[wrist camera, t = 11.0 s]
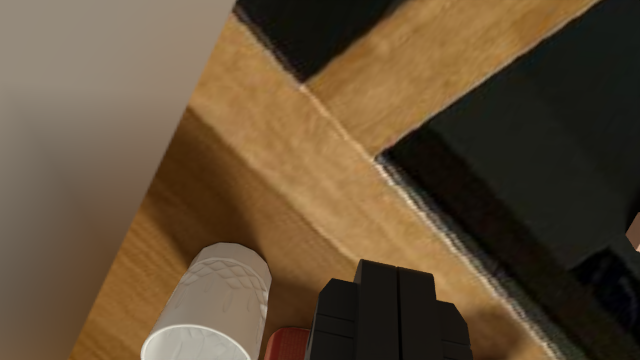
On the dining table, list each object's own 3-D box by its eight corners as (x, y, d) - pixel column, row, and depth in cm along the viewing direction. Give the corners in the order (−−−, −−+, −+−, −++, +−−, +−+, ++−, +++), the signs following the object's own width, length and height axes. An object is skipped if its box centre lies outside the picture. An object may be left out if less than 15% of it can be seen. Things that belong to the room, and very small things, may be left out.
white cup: (191, 224, 45) (144, 312, 36) (287, 248, 45) (263, 341, 36) (181, 297, 49) (136, 391, 40) (269, 319, 49) (244, 417, 40)
